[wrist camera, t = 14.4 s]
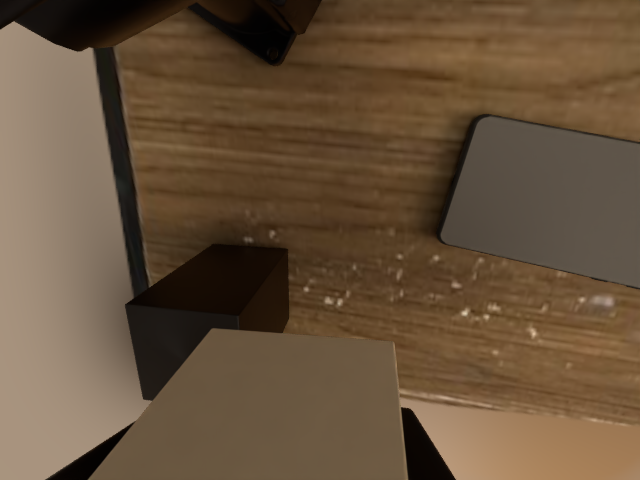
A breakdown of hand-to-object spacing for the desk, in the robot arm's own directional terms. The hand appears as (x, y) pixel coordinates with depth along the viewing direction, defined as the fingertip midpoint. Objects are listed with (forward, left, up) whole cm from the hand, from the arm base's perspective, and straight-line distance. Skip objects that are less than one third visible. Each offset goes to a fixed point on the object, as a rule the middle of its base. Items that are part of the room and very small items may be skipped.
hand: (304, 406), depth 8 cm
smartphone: (+10, +9, -13) cm, 18 cm away
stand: (-3, -6, -13) cm, 15 cm away
